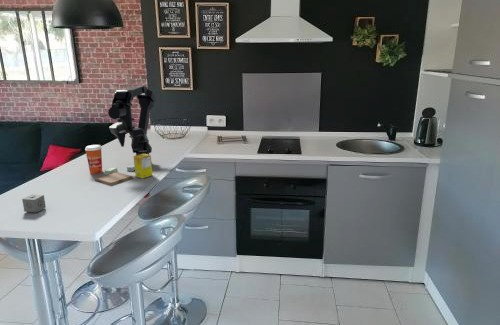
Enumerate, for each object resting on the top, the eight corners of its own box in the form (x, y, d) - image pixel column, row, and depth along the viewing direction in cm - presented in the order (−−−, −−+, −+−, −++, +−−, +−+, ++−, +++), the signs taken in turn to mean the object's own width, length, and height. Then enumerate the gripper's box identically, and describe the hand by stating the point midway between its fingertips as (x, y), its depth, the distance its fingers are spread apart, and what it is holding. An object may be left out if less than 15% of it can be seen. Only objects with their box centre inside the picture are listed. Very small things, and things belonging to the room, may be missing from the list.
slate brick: (133, 169, 189) (133, 164, 188) (139, 170, 188) (138, 164, 187) (127, 172, 183) (126, 167, 182) (132, 173, 182) (132, 167, 182)
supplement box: (145, 174, 179) (143, 153, 176) (152, 176, 176) (151, 155, 173) (135, 177, 175) (133, 155, 172) (142, 179, 171) (140, 157, 168)
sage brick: (112, 173, 183) (111, 167, 182) (117, 173, 182) (117, 167, 181) (105, 176, 177) (104, 170, 177) (110, 177, 177) (109, 171, 176)
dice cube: (24, 211, 135) (22, 199, 134) (34, 206, 140) (32, 194, 138) (36, 212, 134) (34, 199, 133) (45, 207, 139) (43, 195, 138)
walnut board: (117, 175, 179) (116, 172, 179) (132, 179, 172) (132, 176, 172) (95, 181, 169) (94, 178, 169) (111, 185, 163) (110, 182, 162)
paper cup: (86, 176, 177) (83, 148, 173) (89, 172, 184) (85, 145, 181) (104, 175, 179) (100, 147, 175) (105, 170, 186) (102, 144, 183)
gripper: (99, 116, 173) (102, 148, 177) (123, 119, 163) (127, 153, 167) (118, 114, 182) (121, 144, 186) (143, 117, 172) (146, 149, 176)
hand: (128, 147), depth 179 cm, fingers open, 9 cm apart
